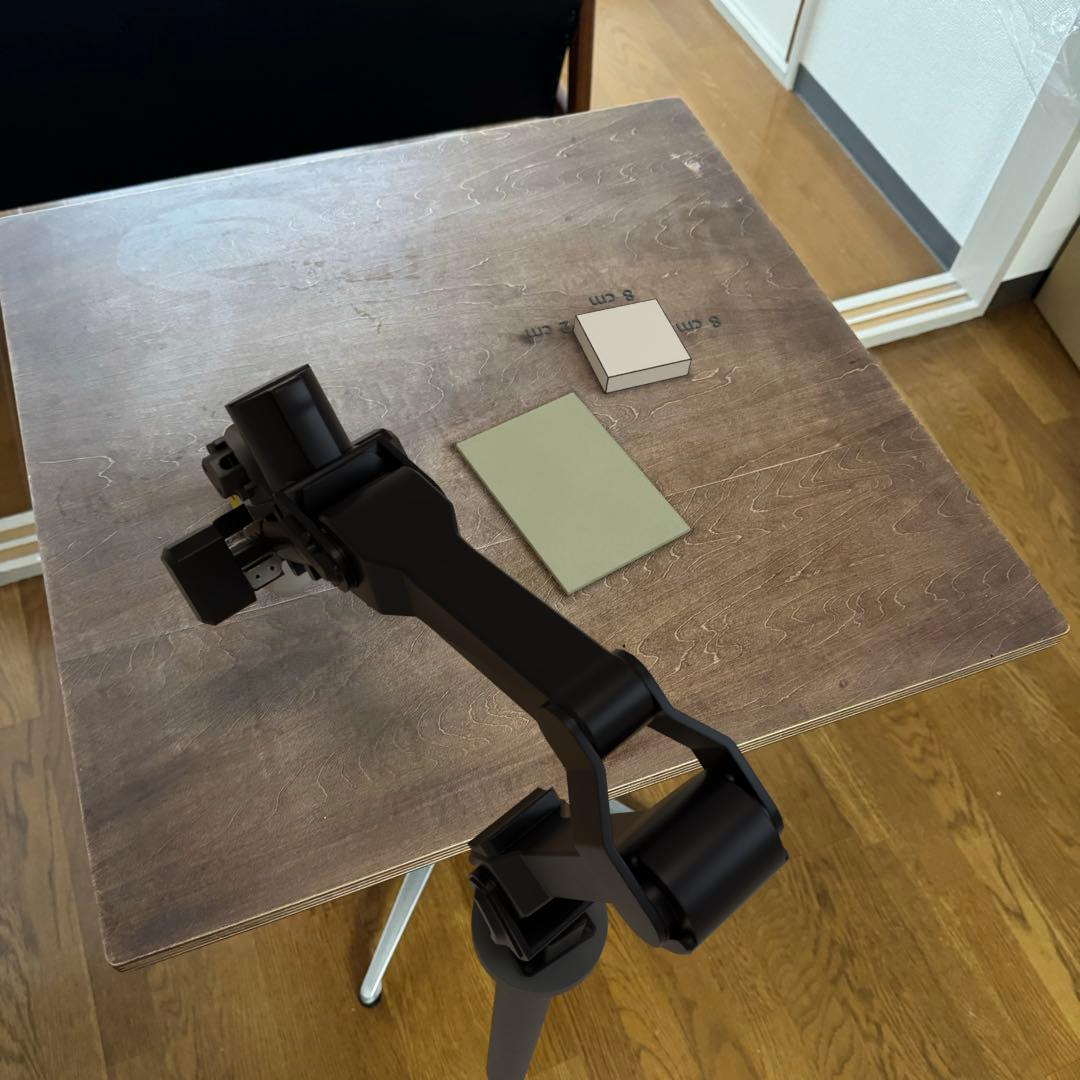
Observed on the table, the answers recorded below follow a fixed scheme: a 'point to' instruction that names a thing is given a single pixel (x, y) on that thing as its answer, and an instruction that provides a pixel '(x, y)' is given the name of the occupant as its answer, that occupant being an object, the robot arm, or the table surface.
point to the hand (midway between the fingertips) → (267, 519)
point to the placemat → (572, 491)
